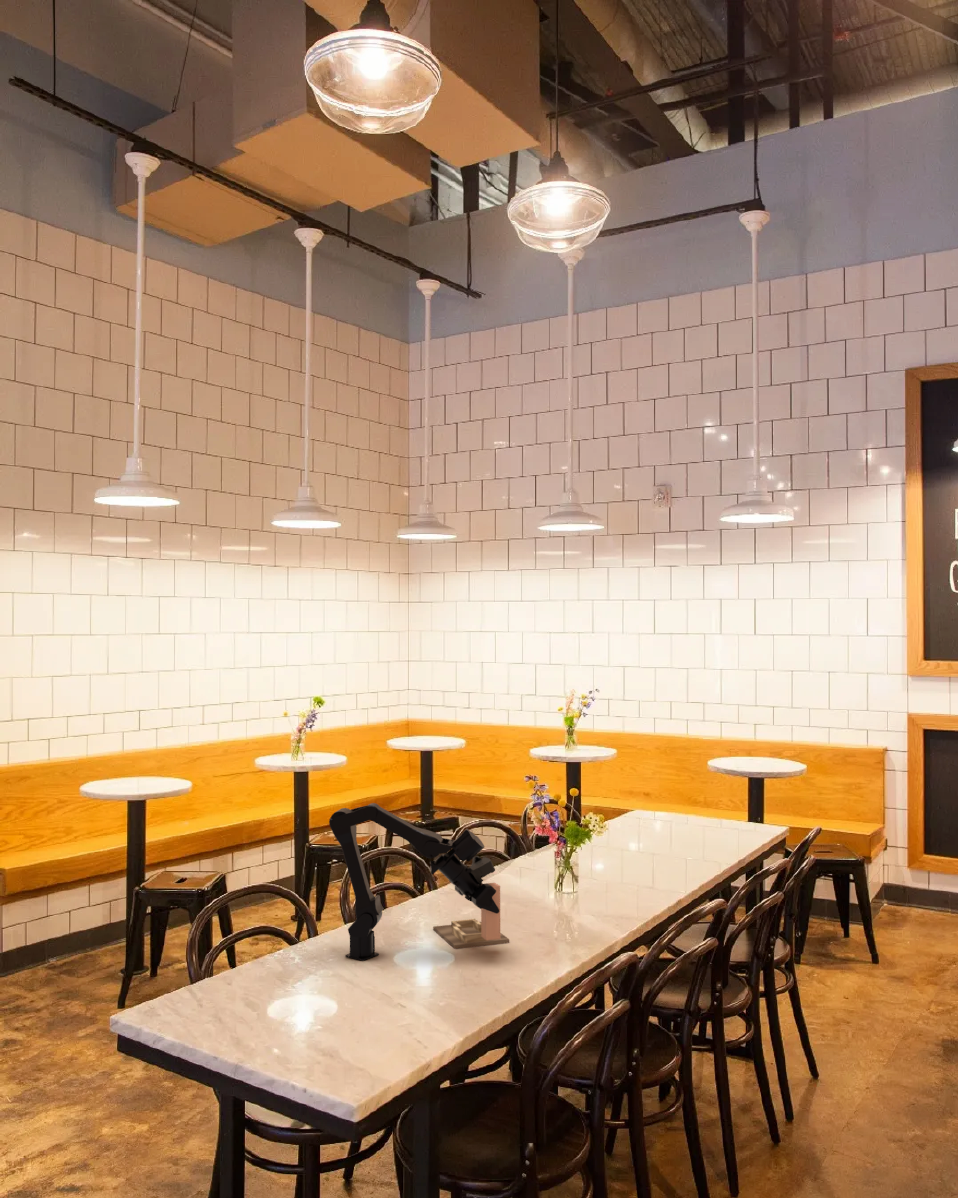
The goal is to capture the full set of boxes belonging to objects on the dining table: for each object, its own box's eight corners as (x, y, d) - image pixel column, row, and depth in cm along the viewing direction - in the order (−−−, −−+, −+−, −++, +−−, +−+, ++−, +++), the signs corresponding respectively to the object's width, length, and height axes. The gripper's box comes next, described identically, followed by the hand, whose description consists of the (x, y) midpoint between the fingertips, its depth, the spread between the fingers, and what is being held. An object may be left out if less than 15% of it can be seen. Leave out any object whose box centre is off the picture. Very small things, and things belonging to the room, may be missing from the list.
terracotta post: (486, 940, 268) (486, 887, 268) (481, 936, 271) (481, 883, 272) (500, 939, 269) (500, 885, 270) (495, 935, 273) (494, 882, 273)
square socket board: (509, 942, 279) (509, 931, 279) (454, 949, 274) (454, 937, 274) (484, 924, 298) (484, 914, 298) (433, 930, 293) (433, 919, 293)
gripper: (488, 855, 261) (528, 895, 264) (465, 842, 279) (502, 880, 282) (459, 888, 258) (500, 928, 261) (438, 873, 276) (476, 911, 279)
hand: (495, 910), depth 271 cm, fingers closed on terracotta post, 4 cm apart
